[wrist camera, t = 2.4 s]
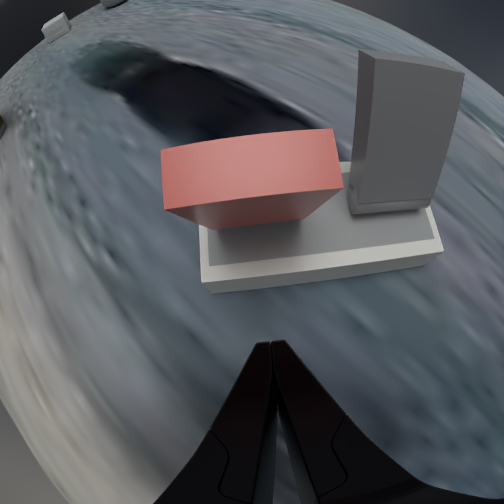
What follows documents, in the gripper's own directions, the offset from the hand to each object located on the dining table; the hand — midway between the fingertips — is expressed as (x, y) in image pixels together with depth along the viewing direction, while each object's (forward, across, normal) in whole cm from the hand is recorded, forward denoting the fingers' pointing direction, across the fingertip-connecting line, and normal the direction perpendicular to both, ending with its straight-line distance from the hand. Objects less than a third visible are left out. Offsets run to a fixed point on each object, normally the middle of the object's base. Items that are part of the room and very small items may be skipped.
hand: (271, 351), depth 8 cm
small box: (+53, +39, -39) cm, 76 cm away
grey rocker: (+9, -8, -2) cm, 12 cm away
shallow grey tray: (+12, -4, +2) cm, 13 cm away
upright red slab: (+9, 0, -2) cm, 10 cm away
